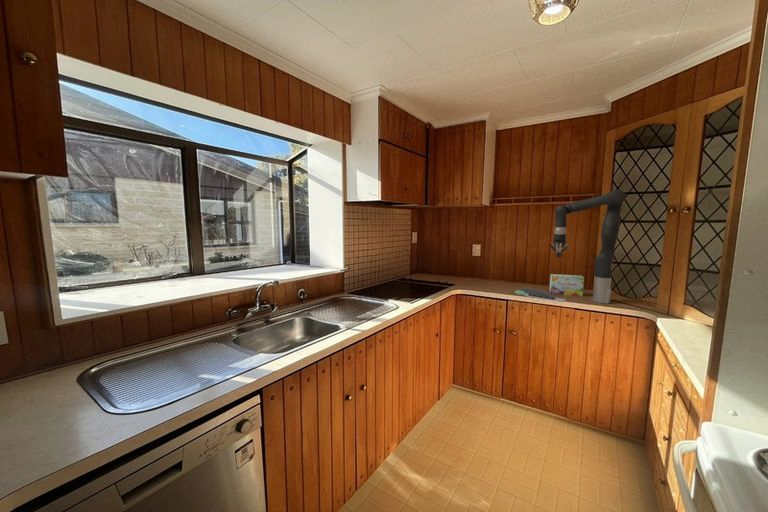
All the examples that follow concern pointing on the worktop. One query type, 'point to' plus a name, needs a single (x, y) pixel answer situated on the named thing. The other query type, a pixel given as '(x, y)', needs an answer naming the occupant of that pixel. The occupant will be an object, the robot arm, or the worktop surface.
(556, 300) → the mat
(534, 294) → the domino
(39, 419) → the worktop surface
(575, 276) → the snack box
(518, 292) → the domino
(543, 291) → the domino
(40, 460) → the worktop surface
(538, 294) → the domino
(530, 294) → the domino
